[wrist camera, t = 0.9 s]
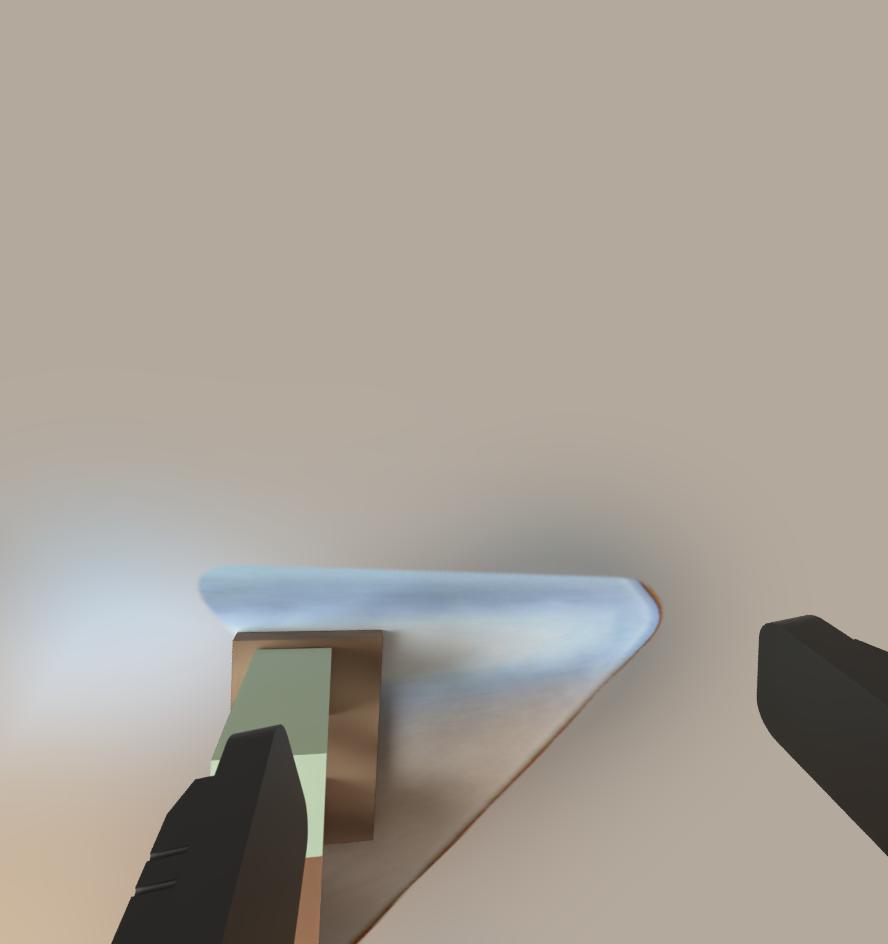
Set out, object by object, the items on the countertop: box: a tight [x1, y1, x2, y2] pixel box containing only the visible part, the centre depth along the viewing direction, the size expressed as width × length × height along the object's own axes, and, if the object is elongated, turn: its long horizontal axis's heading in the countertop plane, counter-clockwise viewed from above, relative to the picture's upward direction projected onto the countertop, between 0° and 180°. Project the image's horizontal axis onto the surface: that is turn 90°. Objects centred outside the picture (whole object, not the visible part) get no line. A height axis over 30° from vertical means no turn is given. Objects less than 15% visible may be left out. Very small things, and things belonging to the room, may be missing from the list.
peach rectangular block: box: [294, 788, 326, 944], centre depth 30 cm, size 5×5×12 cm
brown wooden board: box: [231, 630, 383, 845], centre depth 37 cm, size 15×10×2 cm, turn 177°
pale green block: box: [211, 648, 332, 858], centre depth 29 cm, size 5×5×12 cm
